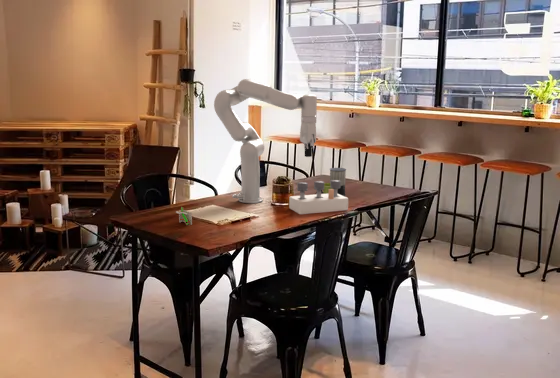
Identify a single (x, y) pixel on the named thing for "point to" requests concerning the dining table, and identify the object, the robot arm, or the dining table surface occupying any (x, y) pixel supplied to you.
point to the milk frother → (338, 178)
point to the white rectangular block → (318, 204)
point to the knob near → (302, 189)
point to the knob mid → (319, 187)
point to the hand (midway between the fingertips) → (308, 156)
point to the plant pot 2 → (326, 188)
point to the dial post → (331, 194)
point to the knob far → (335, 186)
